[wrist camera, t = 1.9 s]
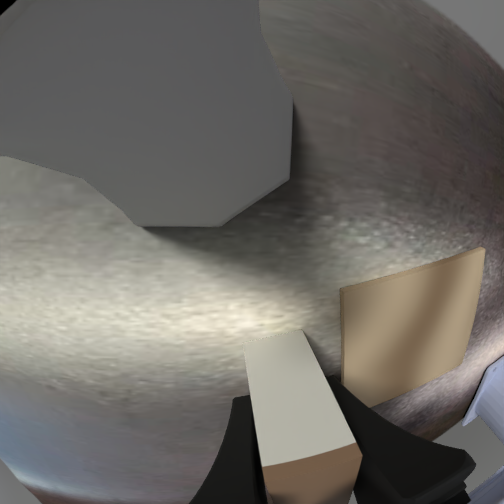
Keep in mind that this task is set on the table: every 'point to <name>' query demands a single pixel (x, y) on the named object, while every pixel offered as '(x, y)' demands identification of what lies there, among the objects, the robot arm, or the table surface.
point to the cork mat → (408, 326)
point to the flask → (147, 103)
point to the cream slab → (299, 424)
